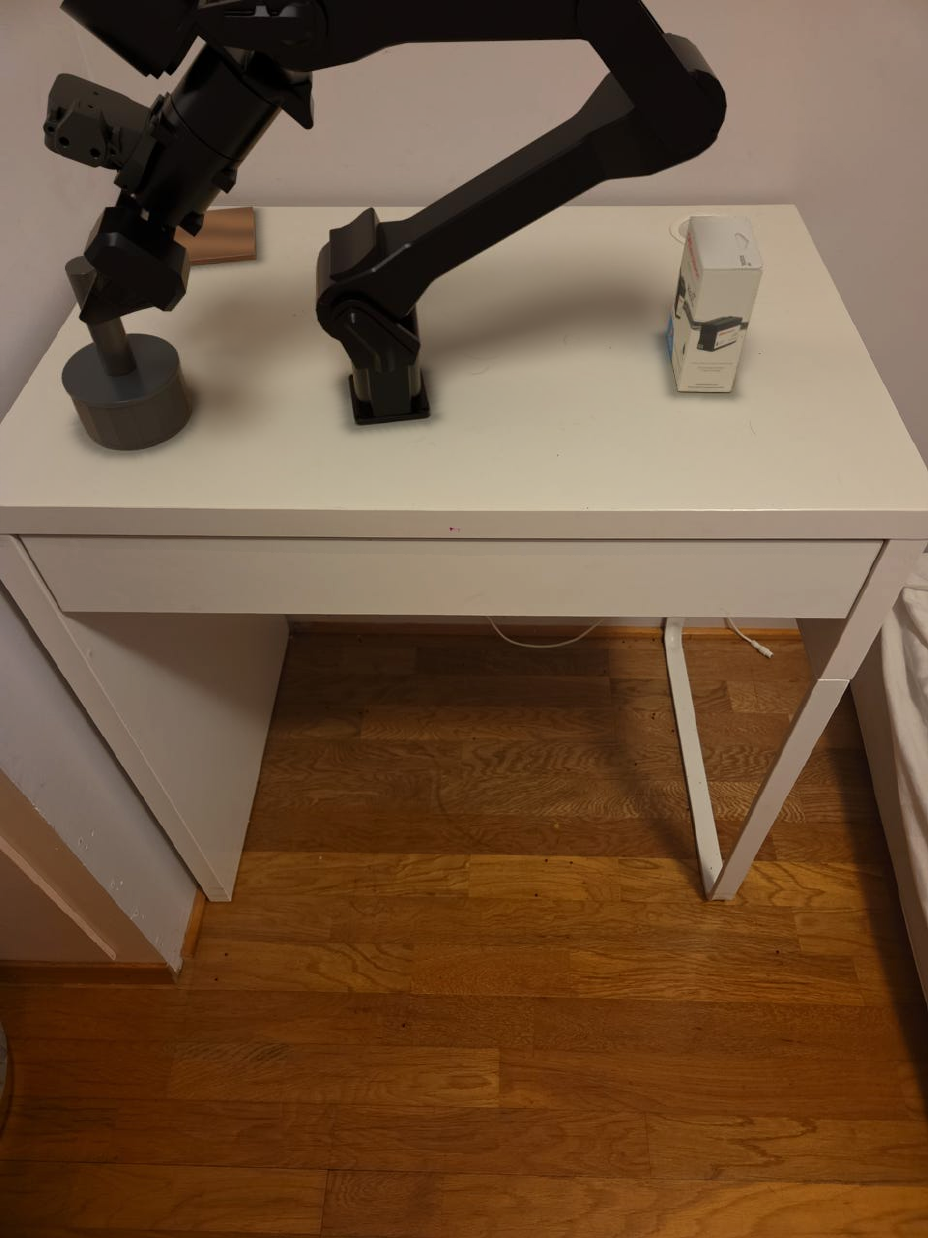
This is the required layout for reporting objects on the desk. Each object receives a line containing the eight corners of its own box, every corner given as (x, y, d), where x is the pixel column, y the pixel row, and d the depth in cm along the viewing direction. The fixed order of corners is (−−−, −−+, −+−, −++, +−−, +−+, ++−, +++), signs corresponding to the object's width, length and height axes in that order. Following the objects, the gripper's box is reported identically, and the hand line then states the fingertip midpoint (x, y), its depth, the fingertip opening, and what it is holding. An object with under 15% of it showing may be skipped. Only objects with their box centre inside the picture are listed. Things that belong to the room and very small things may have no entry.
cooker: (190, 443, 75) (176, 399, 71) (79, 456, 74) (59, 412, 70) (192, 377, 80) (179, 334, 77) (89, 388, 79) (71, 345, 76)
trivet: (255, 259, 92) (254, 253, 92) (157, 268, 91) (155, 263, 91) (254, 211, 98) (253, 205, 98) (161, 219, 97) (160, 214, 97)
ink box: (664, 335, 83) (688, 212, 74) (718, 336, 83) (748, 212, 74) (675, 393, 78) (702, 268, 69) (732, 393, 78) (766, 268, 69)
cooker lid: (180, 407, 71) (143, 292, 63) (59, 420, 71) (7, 306, 63) (184, 338, 77) (150, 225, 69) (72, 350, 76) (25, 237, 68)
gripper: (116, -21, 60) (14, 155, 68) (66, 96, 49) (-49, 291, 57) (256, 99, 67) (148, 247, 75) (241, 227, 55) (115, 385, 63)
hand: (95, 286), depth 67 cm, fingers open, 9 cm apart
